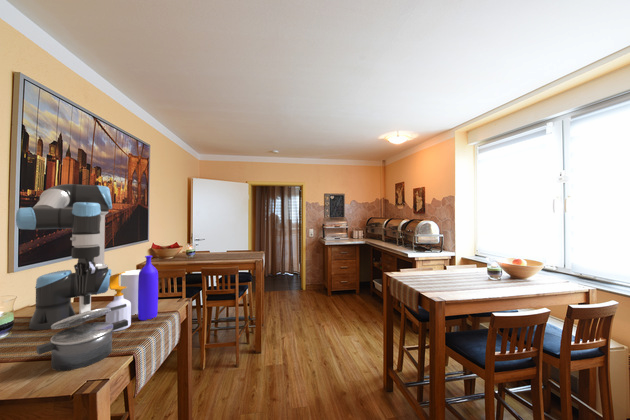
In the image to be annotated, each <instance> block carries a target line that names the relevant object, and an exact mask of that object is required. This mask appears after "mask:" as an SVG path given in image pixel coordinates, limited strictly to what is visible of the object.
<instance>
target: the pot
mask: <svg viewBox="0 0 630 420" xmlns="http://www.w3.org/2000/svg"><path fill="white" fill-rule="evenodd" d="M125 326H128V320H125V319H124V320H121V321H118V322H115V323H108V322H106V321H98V322H97V321H96V322H90V323H89V322H88V323H82V324H78V325H75V326H71V327H68V328H64V329H63V330H60V331H58V332H57V333H55V334H54V335H52V337H50V342H46V343H43V344H40V345H36V354H38V355H42V354H45V353H49V352H51V361H50V363H51V365H50V366H51V367H50V368H51V369H52V370H54V371H58V372H59V371H60V372H62V371H63V372H67V371H73V370H78V369H82V368H86V367H89V366H91V365H93V364H97V363H99V362H101V361H102V360H104V359H106V358H107V357H108V356H110V355H111V353H112V351H113V332H112V331H113V330H116V329H119V328H122V327H125ZM109 354H110V355H109Z"/></svg>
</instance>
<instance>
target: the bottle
mask: <svg viewBox="0 0 630 420" xmlns="http://www.w3.org/2000/svg"><path fill="white" fill-rule="evenodd" d="M144 258H145V265H144V266H143V267H142V268H141V271H140V272H139V278H138V314H137V318H138V320H140V321H148V320H147V319H150V320H153V319H155V318H157V316H158V313H159V311H158V310H159V309H158V307H159V305H158V304H159V272H158V269H157V268H156V267H155V266H154V265H153V264H152V258H153V255H145V256H144ZM154 317H155V318H154ZM152 318H153V319H152Z"/></svg>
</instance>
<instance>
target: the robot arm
mask: <svg viewBox="0 0 630 420" xmlns="http://www.w3.org/2000/svg"><path fill="white" fill-rule="evenodd" d="M112 209H113V204H112V196H111V189H110V188H109V187H108V186H107V185H106V186H105V185H98V184H97V185H96V184H79V183H78V184H76V183H75V184H73V183H65V184H57V185H55V186H52V187H49V188H47V189H45V190H44V191H43V192H42V193H41V194H40V196H39V200H38V201H37V203H36V204H35V205H34V206H33V207H31V206H30V207H20V208H18V209H17V210H16V215H15V223H16V224H15V225H16V227H17V228H18V229H20V230H31V231H32V230H52V229H53V230H55V229H56V230H57V229H61V230H62V229H63V230H64V229H71V231H72V232H71V233H72V234H71V235H72V236H71V237H70V239H69V240H70V241H71V246H73V247H71V258H72V259H74V260H77V263H76V264H74V266H73V267H74V271H75V272H72V270H71V269H66V270H65V269H64V270H58V271H53V272H49V273H45V274H41V275H40V276H38V277H37V278H36V282H35V287H34V289H35V308H34V309H35V310H34V312H33V315H32V317H31V318H30V321H29V327H28V329H29V330H32V331H42V330H43V331H44V330H49V329H51V325H53V324H54V323H56V322H58V321H61V320H63V319H66V318H68V317H71V316H74V315H77V313H76V311H75V310H74V308H73V305H72V299H74V298H79V304H78V305H79V308H78V311H79V313H78V314H80V313H84V312H87V311H91V310H92V296H93V295H96V296H97V295H100V294H101V295H102V294H105V293H107V292H108V290H109V289H110V287H109V278H110V276H112V269H111V268H109V265H107V264H106V263H105V240H106V239H105V235H106V232H105V231H106V226H105V225H106V215H107V214H109V213H110V211H109V210H112Z"/></svg>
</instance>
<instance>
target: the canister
mask: <svg viewBox="0 0 630 420" xmlns="http://www.w3.org/2000/svg"><path fill="white" fill-rule="evenodd" d="M141 269H142V268H141ZM141 269H132V270H126V271H125V272H126V273H123V274H120V286H124V287H126V288H124V289H123V290H122V291H121V293H123V298H124V299H126V300H128V301H130V303H131V316H134V315H135V314H136V315H138V278H139V272H140V271H141Z"/></svg>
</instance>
